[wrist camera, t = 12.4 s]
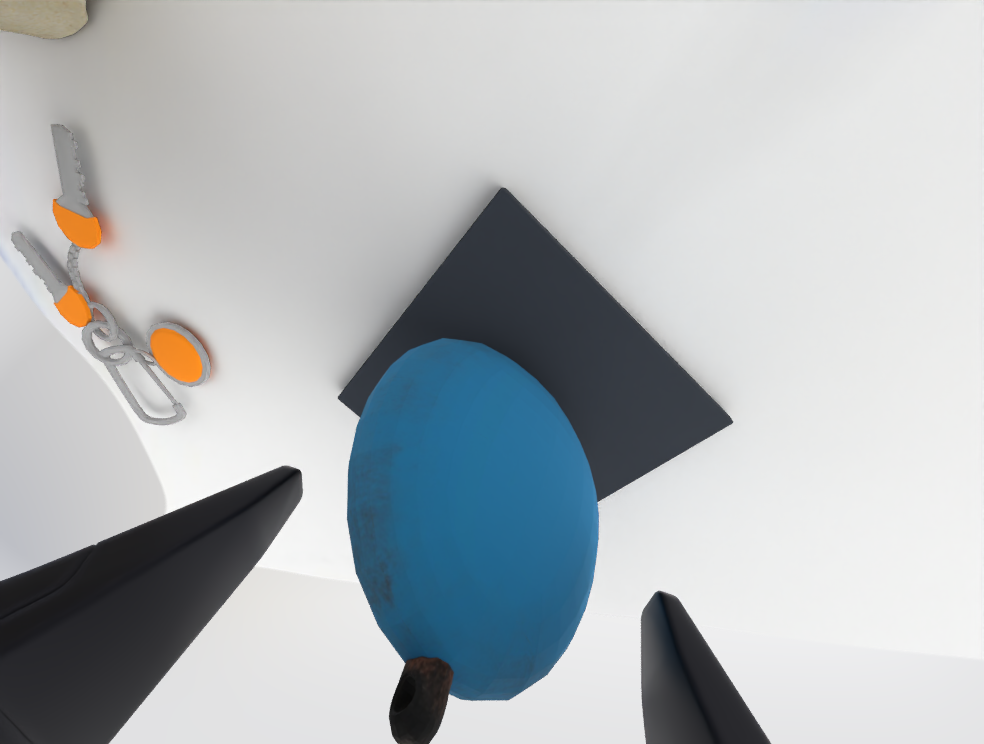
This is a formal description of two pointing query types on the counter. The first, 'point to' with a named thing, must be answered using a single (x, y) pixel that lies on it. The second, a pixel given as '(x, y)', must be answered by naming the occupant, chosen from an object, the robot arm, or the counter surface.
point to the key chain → (165, 340)
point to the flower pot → (43, 17)
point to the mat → (555, 345)
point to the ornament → (469, 527)
